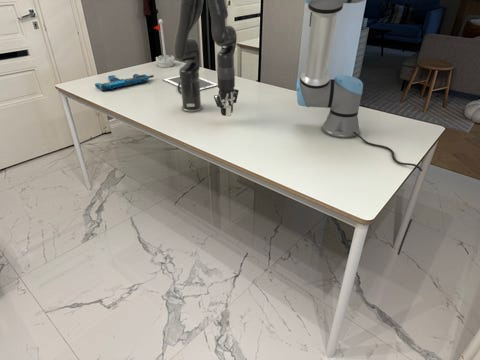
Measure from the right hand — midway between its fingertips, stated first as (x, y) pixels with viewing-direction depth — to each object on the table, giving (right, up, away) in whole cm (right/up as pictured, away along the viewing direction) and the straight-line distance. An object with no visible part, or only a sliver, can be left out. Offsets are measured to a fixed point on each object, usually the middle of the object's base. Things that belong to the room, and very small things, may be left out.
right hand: (316, 28), depth 162 cm
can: (-43, -42, -6) cm, 60 cm away
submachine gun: (-108, -12, +47) cm, 119 cm away
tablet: (-67, -13, +47) cm, 83 cm away
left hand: (-43, -42, -6) cm, 60 cm away
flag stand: (-90, +10, +81) cm, 122 cm away
